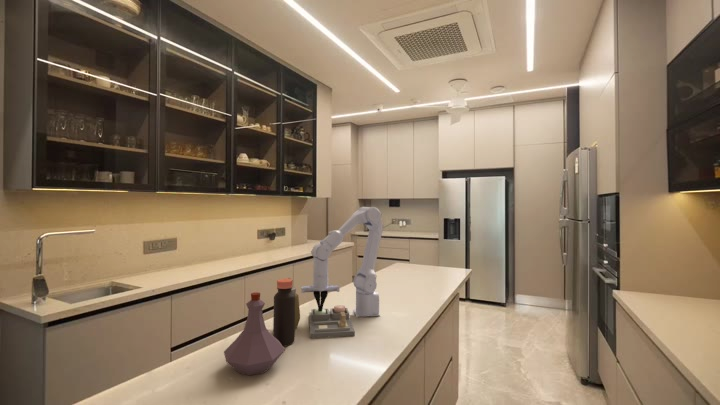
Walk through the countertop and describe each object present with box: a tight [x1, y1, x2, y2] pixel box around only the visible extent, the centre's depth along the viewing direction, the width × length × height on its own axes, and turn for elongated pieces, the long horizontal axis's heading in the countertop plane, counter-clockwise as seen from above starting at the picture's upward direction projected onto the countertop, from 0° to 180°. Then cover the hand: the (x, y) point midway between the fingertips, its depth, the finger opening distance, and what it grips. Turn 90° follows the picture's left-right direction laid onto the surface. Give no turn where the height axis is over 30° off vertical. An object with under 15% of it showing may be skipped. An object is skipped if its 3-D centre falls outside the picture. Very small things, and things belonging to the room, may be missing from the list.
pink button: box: [333, 305, 346, 314], centre depth 127 cm, size 4×4×2 cm
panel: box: [308, 307, 356, 339], centre depth 121 cm, size 15×22×4 cm
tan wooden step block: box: [338, 312, 348, 327], centre depth 116 cm, size 3×5×4 cm, turn 10°
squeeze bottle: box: [287, 277, 301, 330], centre depth 118 cm, size 8×8×18 cm
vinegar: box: [272, 278, 296, 347], centre depth 106 cm, size 7×7×20 cm
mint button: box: [314, 308, 326, 315], centre depth 125 cm, size 4×4×2 cm
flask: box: [223, 291, 286, 376], centre depth 90 cm, size 16×16×20 cm
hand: (320, 310), depth 125 cm, fingers closed, pressing on mint button
